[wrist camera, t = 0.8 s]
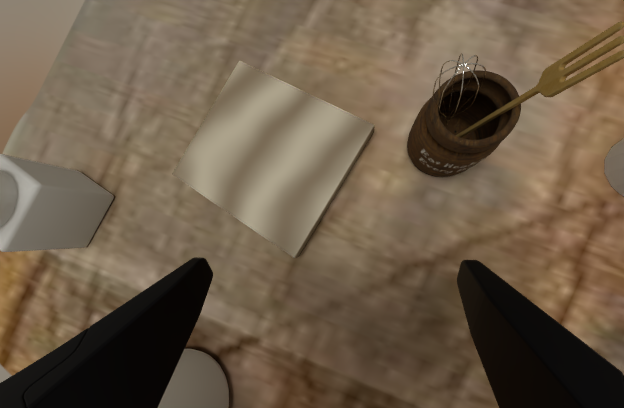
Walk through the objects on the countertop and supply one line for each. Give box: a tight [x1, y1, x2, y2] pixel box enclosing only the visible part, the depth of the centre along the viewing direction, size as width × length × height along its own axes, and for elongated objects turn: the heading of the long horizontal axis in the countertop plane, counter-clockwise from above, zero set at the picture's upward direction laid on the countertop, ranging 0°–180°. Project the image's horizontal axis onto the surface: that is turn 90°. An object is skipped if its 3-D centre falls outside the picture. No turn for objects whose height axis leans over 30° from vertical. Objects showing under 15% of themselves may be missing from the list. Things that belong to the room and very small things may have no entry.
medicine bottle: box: [0, 154, 114, 252], centre depth 24 cm, size 7×7×12 cm
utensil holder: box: [407, 22, 624, 177], centre depth 16 cm, size 6×6×12 cm
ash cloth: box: [172, 61, 375, 258], centre depth 24 cm, size 16×14×2 cm
